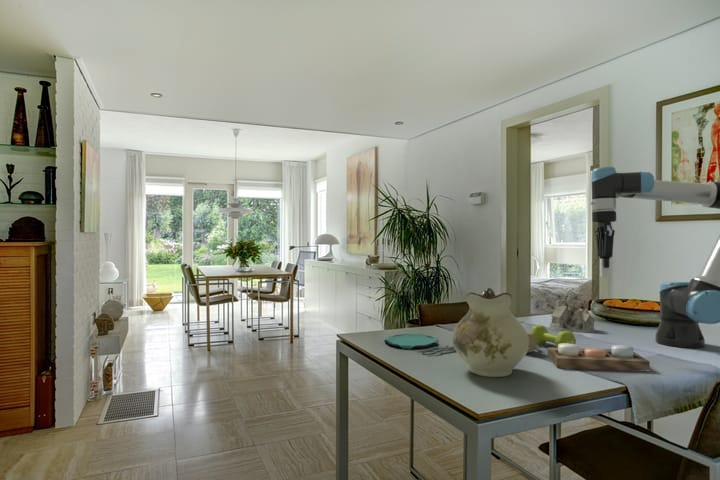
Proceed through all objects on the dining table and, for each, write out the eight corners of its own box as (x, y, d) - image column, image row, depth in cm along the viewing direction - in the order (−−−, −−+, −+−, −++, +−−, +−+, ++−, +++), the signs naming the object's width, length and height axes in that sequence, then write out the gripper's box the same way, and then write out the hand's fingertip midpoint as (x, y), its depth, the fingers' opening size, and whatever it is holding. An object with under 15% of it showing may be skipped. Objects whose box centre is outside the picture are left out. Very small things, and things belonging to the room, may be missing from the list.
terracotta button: (602, 360, 144) (602, 348, 144) (608, 365, 139) (608, 352, 139) (582, 359, 146) (582, 347, 146) (587, 364, 140) (587, 352, 140)
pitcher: (484, 386, 121) (483, 295, 121) (436, 365, 142) (436, 288, 143) (546, 376, 130) (544, 291, 130) (492, 358, 151) (491, 285, 152)
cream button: (575, 355, 146) (575, 343, 146) (581, 360, 140) (580, 347, 140) (556, 355, 147) (556, 343, 147) (560, 359, 141) (560, 347, 141)
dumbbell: (578, 351, 158) (578, 331, 158) (561, 354, 154) (561, 333, 154) (543, 342, 173) (543, 323, 173) (527, 344, 170) (527, 325, 170)
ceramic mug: (523, 355, 154) (523, 333, 154) (506, 349, 161) (506, 328, 161) (545, 351, 158) (545, 330, 158) (527, 347, 166) (527, 326, 166)
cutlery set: (416, 336, 187) (416, 330, 187) (465, 352, 161) (465, 346, 161) (376, 342, 178) (376, 337, 178) (421, 361, 151) (421, 354, 151)
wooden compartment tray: (631, 359, 146) (630, 350, 146) (649, 371, 133) (649, 361, 133) (547, 356, 152) (547, 347, 152) (557, 367, 138) (557, 358, 138)
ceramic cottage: (544, 326, 203) (546, 293, 202) (577, 326, 205) (579, 294, 204) (564, 335, 187) (566, 300, 186) (600, 335, 190) (602, 300, 189)
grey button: (629, 357, 143) (628, 345, 143) (636, 362, 137) (636, 349, 137) (608, 356, 144) (608, 344, 144) (615, 361, 138) (615, 349, 138)
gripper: (587, 212, 165) (588, 275, 165) (598, 210, 152) (599, 278, 152) (609, 211, 164) (610, 275, 164) (622, 209, 151) (623, 278, 151)
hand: (605, 276), depth 158 cm, fingers closed
